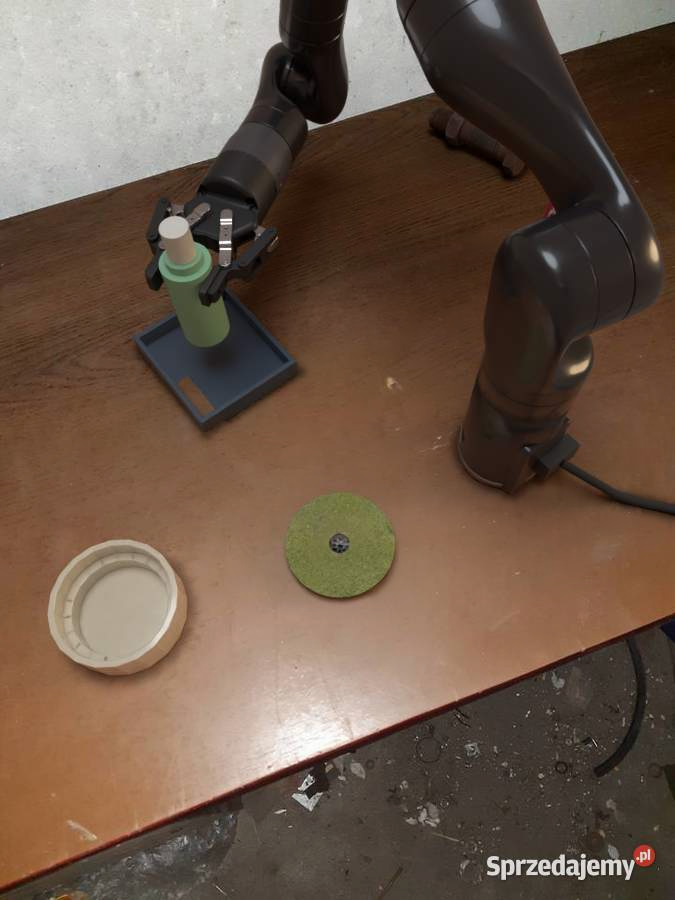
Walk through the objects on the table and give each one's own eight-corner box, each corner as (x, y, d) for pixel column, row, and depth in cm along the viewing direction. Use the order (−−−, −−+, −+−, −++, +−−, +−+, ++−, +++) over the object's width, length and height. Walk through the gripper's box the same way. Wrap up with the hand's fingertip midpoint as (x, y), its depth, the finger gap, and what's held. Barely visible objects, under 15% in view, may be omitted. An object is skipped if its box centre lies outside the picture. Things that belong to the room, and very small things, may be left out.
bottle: (224, 349, 77) (194, 250, 63) (178, 344, 77) (138, 245, 63) (233, 311, 79) (207, 208, 65) (189, 307, 79) (153, 204, 65)
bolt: (434, 135, 103) (521, 176, 98) (418, 136, 99) (507, 179, 94) (449, 94, 99) (539, 134, 94) (432, 93, 96) (525, 135, 91)
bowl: (211, 623, 69) (201, 611, 65) (105, 703, 66) (86, 696, 62) (149, 533, 74) (135, 516, 69) (46, 603, 71) (25, 590, 66)
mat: (392, 498, 75) (393, 491, 73) (396, 601, 70) (397, 596, 68) (288, 499, 75) (286, 492, 73) (285, 602, 70) (283, 597, 68)
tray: (298, 373, 82) (296, 361, 80) (205, 434, 79) (201, 423, 77) (227, 295, 88) (223, 282, 86) (138, 349, 85) (132, 337, 82)
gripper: (180, 133, 74) (101, 248, 67) (305, 164, 71) (236, 287, 64) (195, 188, 80) (125, 298, 73) (310, 219, 78) (248, 335, 71)
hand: (177, 292), depth 69 cm, fingers closed on bottle, 5 cm apart
